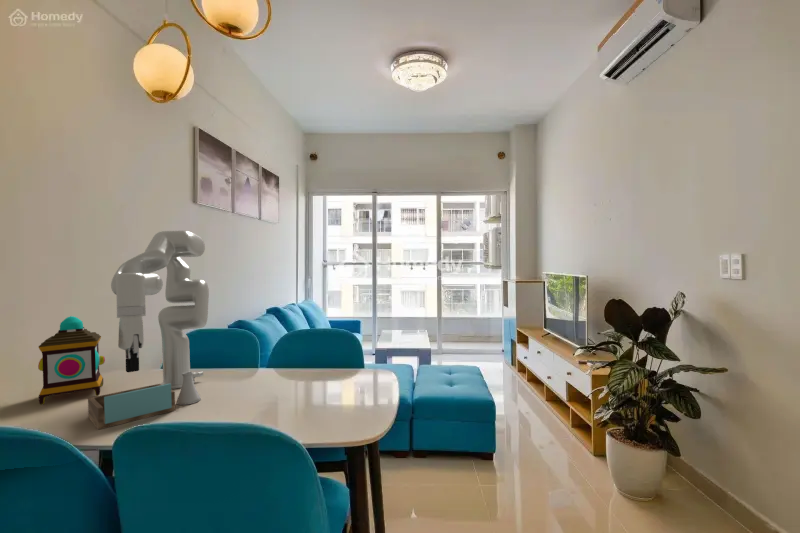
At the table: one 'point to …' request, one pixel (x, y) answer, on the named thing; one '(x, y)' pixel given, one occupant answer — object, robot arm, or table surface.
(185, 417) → the table surface
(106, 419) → the teal panel
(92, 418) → the crate
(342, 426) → the table surface
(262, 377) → the table surface
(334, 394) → the table surface
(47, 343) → the decorative lantern
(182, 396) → the flask
